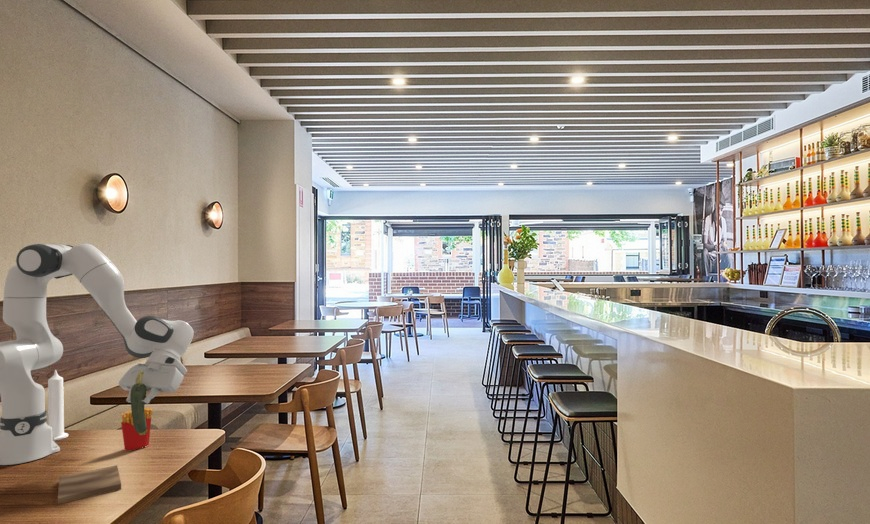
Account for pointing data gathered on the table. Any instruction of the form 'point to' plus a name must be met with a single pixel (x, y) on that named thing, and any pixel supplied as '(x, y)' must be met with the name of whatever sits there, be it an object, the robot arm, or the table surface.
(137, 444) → the french fries
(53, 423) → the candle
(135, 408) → the vegetable
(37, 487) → the table surface
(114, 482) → the cutting board
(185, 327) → the robot arm
